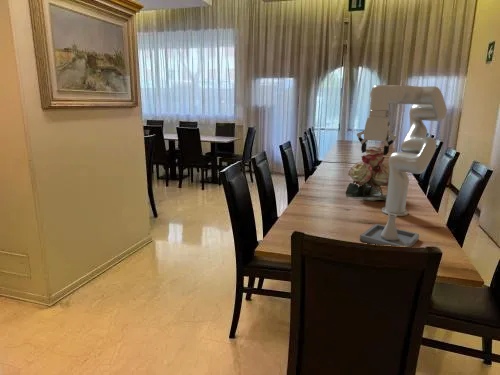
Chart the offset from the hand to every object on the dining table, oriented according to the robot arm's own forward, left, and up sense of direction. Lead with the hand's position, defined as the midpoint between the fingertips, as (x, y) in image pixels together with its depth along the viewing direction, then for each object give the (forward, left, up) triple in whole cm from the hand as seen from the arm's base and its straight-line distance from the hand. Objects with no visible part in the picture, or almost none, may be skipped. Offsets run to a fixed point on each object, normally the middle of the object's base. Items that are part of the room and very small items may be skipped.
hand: (374, 153), depth 150 cm
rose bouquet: (-47, -17, -34) cm, 60 cm away
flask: (+13, +15, -32) cm, 38 cm away
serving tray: (+13, +15, -33) cm, 39 cm away
